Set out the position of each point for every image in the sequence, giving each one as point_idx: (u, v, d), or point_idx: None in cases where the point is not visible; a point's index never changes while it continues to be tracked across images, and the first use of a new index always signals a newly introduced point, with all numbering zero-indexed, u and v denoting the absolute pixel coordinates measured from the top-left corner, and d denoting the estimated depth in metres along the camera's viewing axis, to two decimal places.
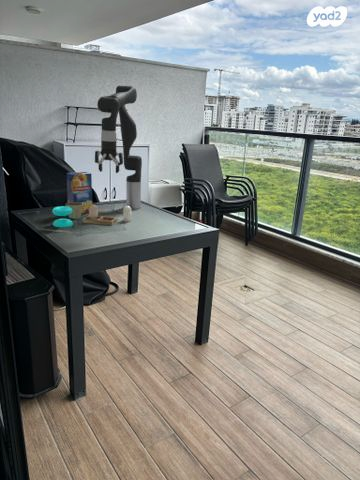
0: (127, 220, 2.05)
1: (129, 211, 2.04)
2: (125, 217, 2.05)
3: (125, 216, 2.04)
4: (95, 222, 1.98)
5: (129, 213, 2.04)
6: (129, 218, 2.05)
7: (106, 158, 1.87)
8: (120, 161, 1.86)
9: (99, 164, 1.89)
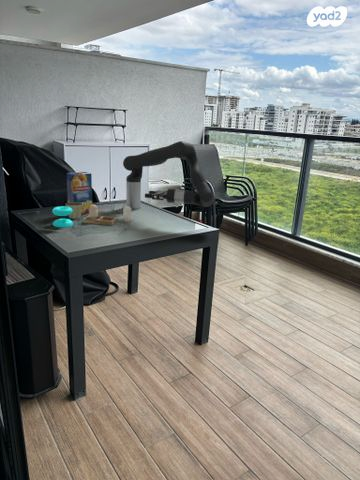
0: (127, 220, 2.05)
1: (129, 211, 2.04)
2: (125, 217, 2.05)
3: (125, 216, 2.04)
4: (95, 222, 1.98)
5: (129, 213, 2.04)
6: (129, 218, 2.05)
7: None
8: None
9: (151, 197, 1.96)
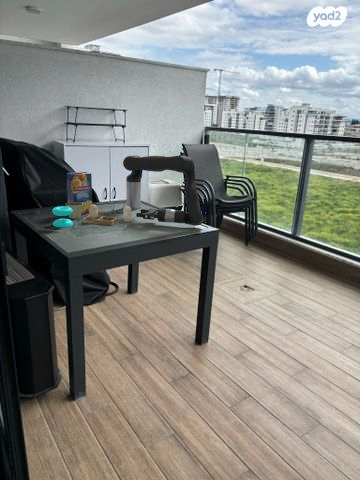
0: (127, 220, 2.05)
1: (129, 211, 2.04)
2: (125, 217, 2.05)
3: (125, 216, 2.04)
4: (95, 222, 1.98)
5: (129, 213, 2.04)
6: (129, 218, 2.05)
7: None
8: None
9: (142, 216, 2.00)
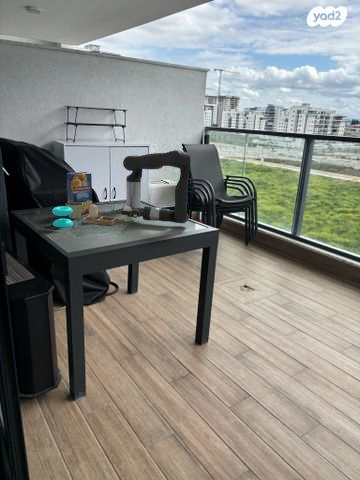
0: (127, 220, 2.05)
1: None
2: (125, 217, 2.05)
3: (125, 216, 2.04)
4: (95, 222, 1.98)
5: None
6: (129, 218, 2.05)
7: None
8: None
9: None
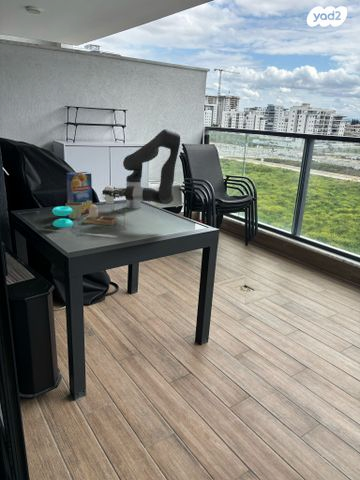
0: (109, 200, 1.96)
1: None
2: (107, 197, 1.95)
3: (107, 196, 1.95)
4: (95, 222, 1.98)
5: None
6: (111, 198, 1.96)
7: None
8: None
9: None
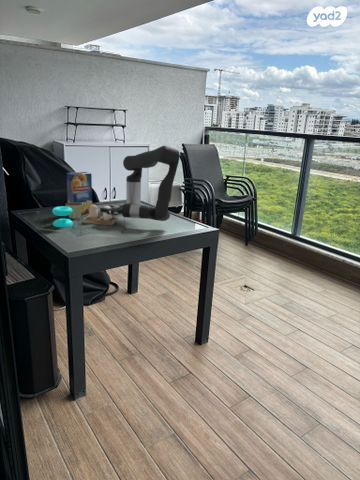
0: (107, 220, 1.99)
1: (109, 211, 1.98)
2: (105, 217, 1.99)
3: (105, 216, 1.99)
4: (95, 222, 1.98)
5: None
6: (109, 218, 1.99)
7: None
8: None
9: (106, 212, 1.95)
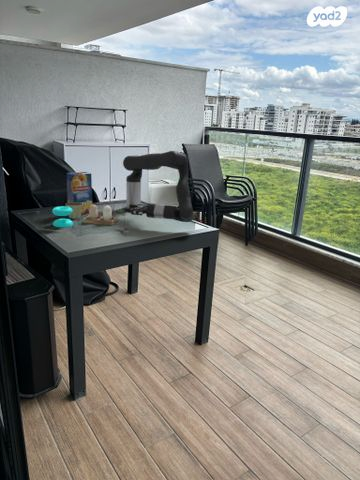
0: (107, 220, 1.99)
1: (109, 211, 1.98)
2: (105, 217, 1.99)
3: (105, 216, 1.99)
4: (95, 222, 1.98)
5: (109, 213, 1.98)
6: (109, 218, 1.99)
7: None
8: None
9: None
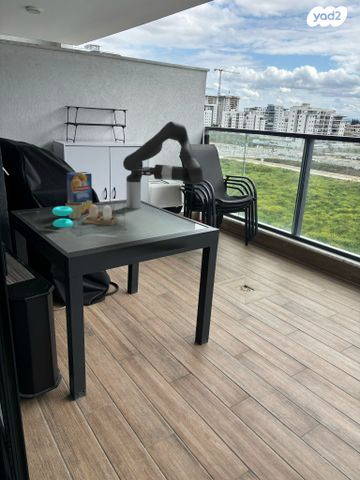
0: (107, 220, 1.99)
1: (109, 211, 1.98)
2: (105, 217, 1.99)
3: (105, 216, 1.99)
4: (95, 222, 1.98)
5: (109, 213, 1.98)
6: (109, 218, 1.99)
7: None
8: None
9: (138, 173, 1.88)
